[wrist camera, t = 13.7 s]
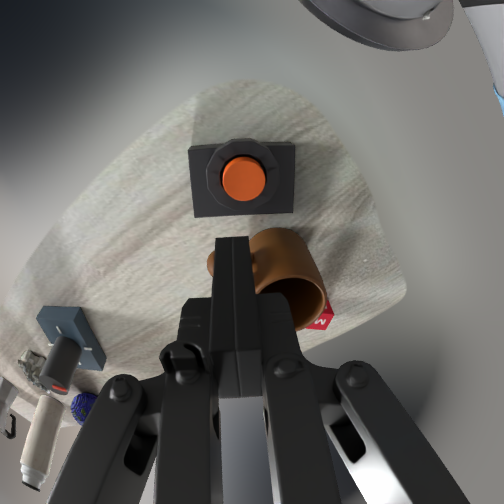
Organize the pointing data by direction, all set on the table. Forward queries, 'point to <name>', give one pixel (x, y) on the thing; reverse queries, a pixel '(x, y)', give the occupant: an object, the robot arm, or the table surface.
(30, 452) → the thermos bottle
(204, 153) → the push button switch
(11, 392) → the coffeepot
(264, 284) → the mug
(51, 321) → the dial panel
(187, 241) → the table surface
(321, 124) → the table surface
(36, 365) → the grey jagged hollow block
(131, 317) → the table surface
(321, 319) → the dice
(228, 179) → the round orange button
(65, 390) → the temp dial
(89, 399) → the ball
